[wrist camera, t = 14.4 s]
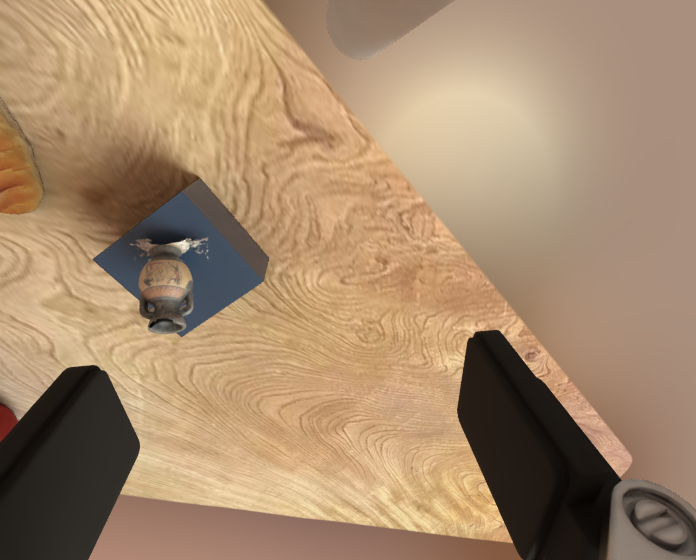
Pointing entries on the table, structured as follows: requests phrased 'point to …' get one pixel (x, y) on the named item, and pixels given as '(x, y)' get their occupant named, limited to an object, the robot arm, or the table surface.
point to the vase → (166, 285)
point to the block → (193, 252)
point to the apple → (6, 421)
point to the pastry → (17, 169)
